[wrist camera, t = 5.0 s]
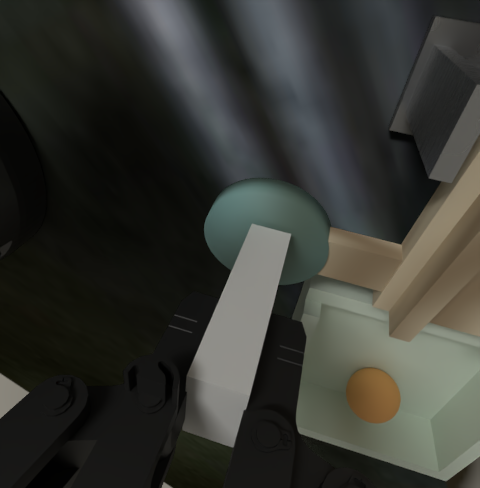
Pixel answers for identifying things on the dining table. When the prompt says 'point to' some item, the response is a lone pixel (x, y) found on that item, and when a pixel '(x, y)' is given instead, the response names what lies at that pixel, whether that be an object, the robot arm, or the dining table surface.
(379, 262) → the lever
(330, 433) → the tray
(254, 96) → the dining table surface
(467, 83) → the stand
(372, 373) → the ball
